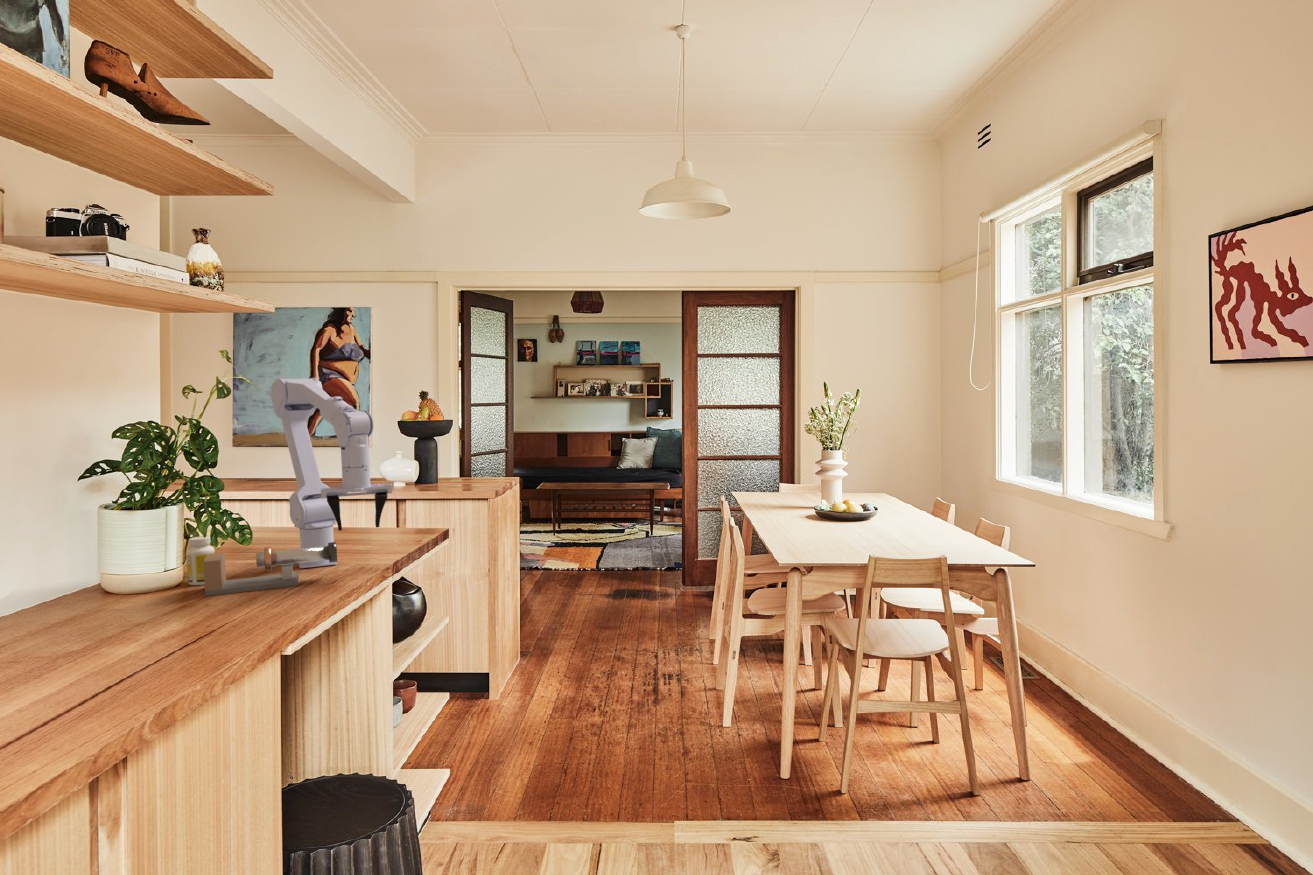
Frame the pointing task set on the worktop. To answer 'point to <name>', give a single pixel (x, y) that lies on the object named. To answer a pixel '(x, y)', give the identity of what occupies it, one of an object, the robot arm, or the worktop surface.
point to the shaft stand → (220, 585)
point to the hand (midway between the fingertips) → (358, 528)
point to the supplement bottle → (197, 559)
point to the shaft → (296, 556)
